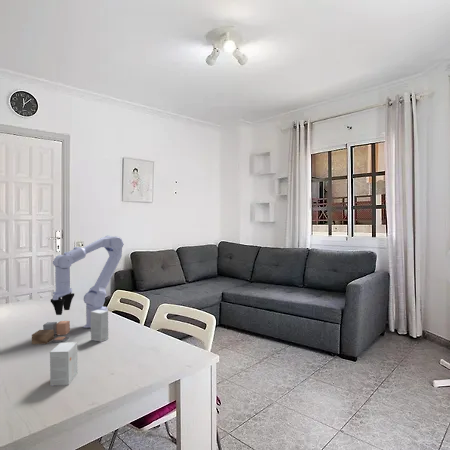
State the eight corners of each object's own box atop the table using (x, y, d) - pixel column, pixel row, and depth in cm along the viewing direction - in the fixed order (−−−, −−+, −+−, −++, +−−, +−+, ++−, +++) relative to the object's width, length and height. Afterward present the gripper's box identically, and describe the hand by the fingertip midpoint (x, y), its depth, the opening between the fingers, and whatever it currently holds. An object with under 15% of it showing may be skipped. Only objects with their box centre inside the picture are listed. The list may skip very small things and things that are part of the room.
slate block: (57, 333, 148) (56, 321, 148) (52, 336, 144) (52, 324, 144) (47, 333, 148) (47, 322, 148) (43, 336, 144) (43, 324, 144)
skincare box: (108, 338, 141) (108, 310, 140) (101, 342, 137) (100, 313, 137) (98, 336, 143) (97, 309, 143) (90, 340, 139) (90, 311, 139)
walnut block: (54, 339, 141) (53, 329, 141) (46, 344, 135) (46, 334, 135) (39, 339, 141) (39, 329, 141) (31, 344, 135) (31, 334, 135)
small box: (60, 374, 109) (60, 342, 109) (78, 373, 109) (77, 341, 109) (49, 386, 101) (49, 352, 101) (68, 385, 101) (68, 351, 101)
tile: (68, 337, 142) (68, 335, 142) (63, 342, 137) (63, 340, 137) (56, 337, 142) (56, 336, 142) (51, 342, 137) (51, 340, 137)
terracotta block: (69, 331, 150) (69, 320, 150) (65, 334, 146) (65, 323, 146) (60, 331, 150) (60, 320, 150) (56, 335, 146) (56, 323, 146)
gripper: (61, 279, 155) (61, 308, 155) (45, 285, 140) (45, 317, 140) (76, 278, 155) (76, 307, 155) (62, 285, 140) (62, 317, 141)
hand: (63, 312), depth 148 cm, fingers open, 7 cm apart
